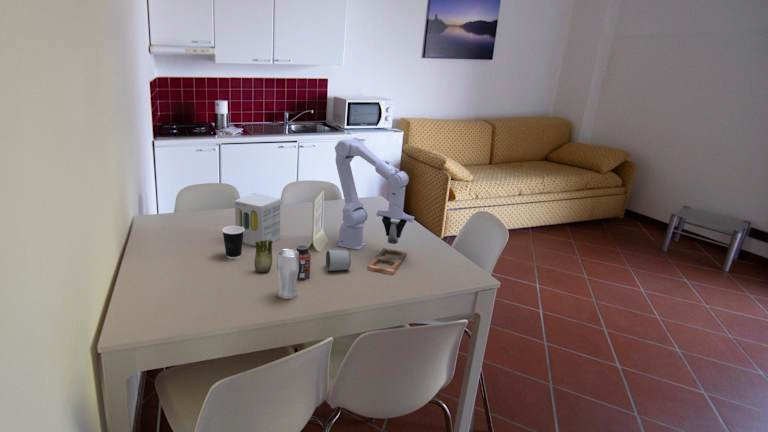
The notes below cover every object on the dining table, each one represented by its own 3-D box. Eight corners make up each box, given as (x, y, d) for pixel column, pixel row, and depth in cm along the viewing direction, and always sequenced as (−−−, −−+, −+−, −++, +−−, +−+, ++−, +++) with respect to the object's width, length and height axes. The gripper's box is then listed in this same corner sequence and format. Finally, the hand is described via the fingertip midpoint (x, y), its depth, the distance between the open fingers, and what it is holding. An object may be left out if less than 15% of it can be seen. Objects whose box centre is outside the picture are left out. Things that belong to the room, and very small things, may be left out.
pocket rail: (367, 269, 184) (367, 266, 183) (383, 251, 202) (383, 247, 202) (392, 275, 181) (393, 271, 181) (406, 255, 199) (407, 252, 199)
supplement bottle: (306, 281, 171) (307, 251, 167) (290, 279, 172) (290, 249, 168) (312, 274, 176) (313, 245, 173) (296, 272, 177) (297, 242, 174)
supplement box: (234, 241, 200) (233, 200, 194) (254, 231, 211) (254, 192, 206) (262, 248, 195) (262, 206, 190) (280, 238, 207) (281, 198, 201)
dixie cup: (243, 251, 190) (243, 225, 187) (245, 260, 183) (245, 232, 180) (222, 253, 188) (221, 226, 184) (223, 261, 181) (222, 233, 177)
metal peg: (386, 242, 193) (388, 223, 190) (389, 239, 196) (391, 220, 194) (396, 244, 192) (398, 225, 189) (399, 241, 195) (400, 222, 193)
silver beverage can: (278, 289, 164) (278, 247, 159) (299, 290, 165) (300, 248, 160) (275, 299, 157) (275, 256, 152) (297, 300, 158) (298, 257, 153)
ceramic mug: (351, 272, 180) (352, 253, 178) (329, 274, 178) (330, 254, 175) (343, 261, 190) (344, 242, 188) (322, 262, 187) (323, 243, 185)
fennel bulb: (272, 268, 178) (272, 238, 175) (270, 274, 174) (270, 243, 170) (256, 267, 178) (256, 236, 174) (253, 273, 174) (253, 242, 170)
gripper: (417, 203, 191) (413, 236, 195) (381, 197, 194) (378, 229, 199) (412, 208, 184) (409, 242, 189) (375, 202, 188) (373, 235, 192)
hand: (393, 236), depth 193 cm, fingers closed on metal peg, 4 cm apart
